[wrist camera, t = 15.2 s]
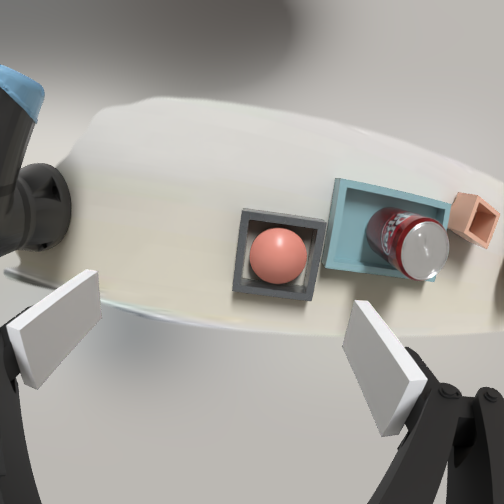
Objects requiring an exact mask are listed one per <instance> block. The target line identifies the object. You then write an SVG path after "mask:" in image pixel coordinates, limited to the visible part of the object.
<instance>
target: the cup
mask: <svg viewBox="0 0 504 504" xmlns="http://www.w3.org/2000/svg"><path fill="white" fill-rule="evenodd" d="M476 211H477V212H476ZM499 216H500V213H499V212H498V211H496V210H495V209H494V208H493V207H492V206H490V205H489V204H488V203H487V202H486V201H484V200H483V199H482V198H481V197H479V196H478V195H473V194H466V193H460V192H458V194H457V197H456V199H455V202H454V203H453V204H452V205H451V210H450V216H449V221H448V226H447V228H448V229H450V230H451V231H453V232H454V233H455V234H457V235H459V236H461V237H462V238H464V239H465V240H467V241H468V242H470V243H473V244H475V245H478V246H480V247H483V248H485V249H487V248H488V246H489V243H490V241H491V238H492V235H493V233H494V230H495V228H496V225H497V222H498V219H499Z"/></svg>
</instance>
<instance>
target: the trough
mask: <svg viewBox="0 0 504 504" xmlns="http://www.w3.org/2000/svg"><path fill="white" fill-rule="evenodd" d="M385 207H395V208H399V209H402V210H406V211H409V212H412V213H416V214H419V215H423V216H426V217H429V218H432V219H435V220H436V221H438V222H439V223H440V224H442V226H443V227H444V229H445V230H446V232H447V226H448V221H449V216H450V210H451V204H449V203H445V202H442V201H438V200H434V199H430V198H426V197H423V196H419V195H415V194H411V193H406V192H402V191H398V190H394V189H389V188H385V187H380V186H376V185H371V184H366V183H361V182H357V181H352V180H346V179H341V178H335V185H334V191H333V198H332V204H331V211H330V217H329V223H328V228H327V234H326V240H325V245H324V251H323V256H322V261H321V262H322V263H323V265H324V267H325V268H330V269H337V270H345V271H353V272H360V273H368V274H376V275H383V276H391V277H399V278H407V277H406V276H405V275H403V274H402V273H401V272H400V271H398V270H397V269H396V268H394V267H393V266H392V265H391V264H389V263H388V262H387V261H385V260H384V259H383V258H381V257H380V256H379V255H377V254H376V253H375V252H374V251H373V250H372V249H371V248H370V246H369V244H368V242H367V237H366V229H367V225H368V222H369V220H370V218H371V217H372V215H373V214H374V213H375V212H377V211H378V210H380V209H382V208H385ZM435 278H436V275H435V276H434V277H432V278H430V279H428V280H424V281H430V282H434V281H435ZM407 279H409V278H407Z"/></svg>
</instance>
